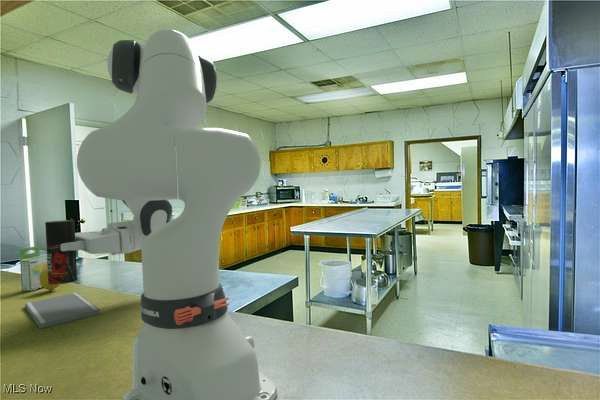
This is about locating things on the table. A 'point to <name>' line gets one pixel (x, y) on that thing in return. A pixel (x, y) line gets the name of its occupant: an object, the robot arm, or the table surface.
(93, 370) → the table surface
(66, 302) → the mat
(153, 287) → the robot arm
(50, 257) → the deodorant
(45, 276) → the lemon
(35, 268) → the ink box
